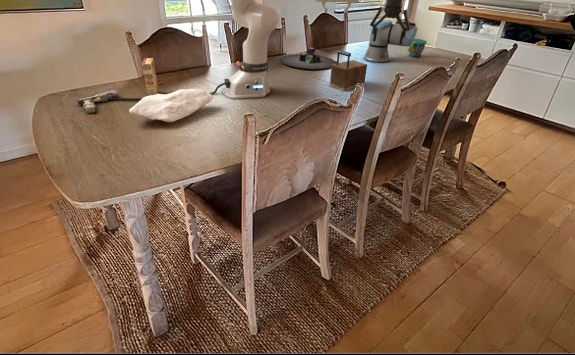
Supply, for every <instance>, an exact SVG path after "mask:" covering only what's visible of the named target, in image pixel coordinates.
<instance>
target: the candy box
mask: <svg viewBox="0 0 575 355" xmlns="http://www.w3.org/2000/svg"><path fill="white" fill-rule="evenodd" d="M141 66H142V73H143V78H144V82H145V87H146V92H147V96H150V95H156V94H159V91H160V90H159V84H158V79H157V73H156V66H155V62H154V58H153V57H151V58H150V57H149V58H146V57H145V58H143V60H142V63H141Z"/></svg>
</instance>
